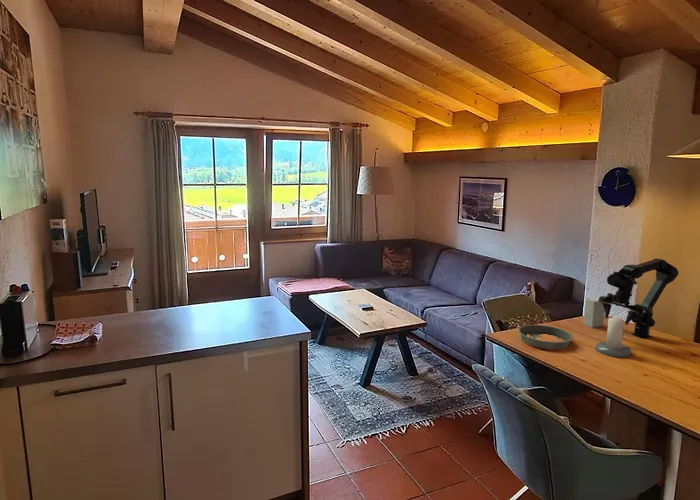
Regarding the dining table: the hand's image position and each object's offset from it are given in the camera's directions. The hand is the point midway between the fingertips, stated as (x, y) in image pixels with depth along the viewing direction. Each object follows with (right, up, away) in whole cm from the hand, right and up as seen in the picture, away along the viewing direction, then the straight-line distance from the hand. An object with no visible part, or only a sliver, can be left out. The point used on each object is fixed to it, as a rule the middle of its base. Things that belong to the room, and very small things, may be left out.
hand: (616, 321), depth 221 cm
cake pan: (-34, -10, +2) cm, 35 cm away
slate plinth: (-8, -12, -11) cm, 18 cm away
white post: (-8, -10, -11) cm, 17 cm away
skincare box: (+2, -6, +25) cm, 26 cm away
